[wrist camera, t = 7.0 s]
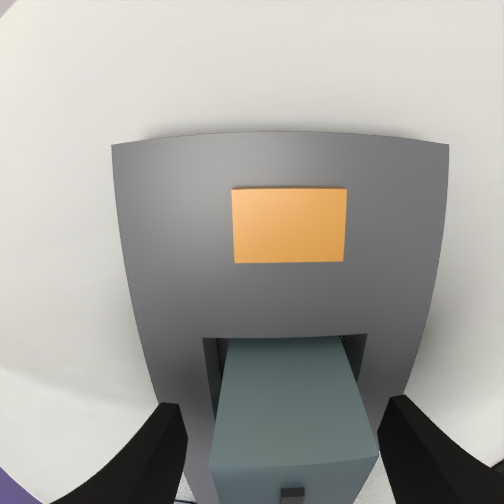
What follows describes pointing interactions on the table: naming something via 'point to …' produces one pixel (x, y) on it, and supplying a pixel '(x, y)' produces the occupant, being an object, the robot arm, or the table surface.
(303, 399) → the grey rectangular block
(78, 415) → the table surface
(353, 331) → the control panel
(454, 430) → the table surface
